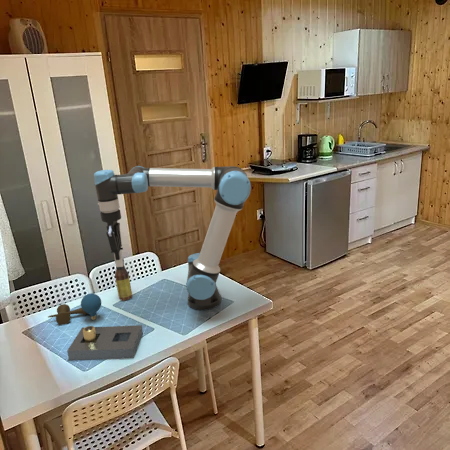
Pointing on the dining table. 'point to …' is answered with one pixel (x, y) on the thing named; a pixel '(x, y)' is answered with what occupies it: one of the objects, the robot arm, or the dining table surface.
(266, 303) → the dining table surface
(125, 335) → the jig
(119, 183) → the robot arm
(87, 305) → the light bulb
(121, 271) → the sauce bottle
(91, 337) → the bushing
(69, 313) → the kendama
